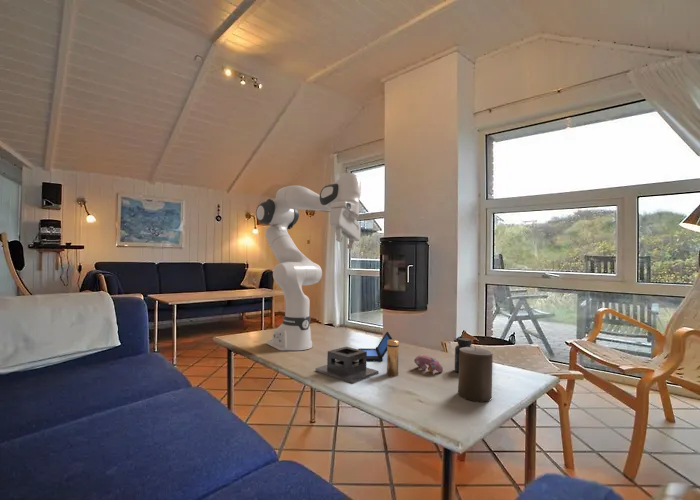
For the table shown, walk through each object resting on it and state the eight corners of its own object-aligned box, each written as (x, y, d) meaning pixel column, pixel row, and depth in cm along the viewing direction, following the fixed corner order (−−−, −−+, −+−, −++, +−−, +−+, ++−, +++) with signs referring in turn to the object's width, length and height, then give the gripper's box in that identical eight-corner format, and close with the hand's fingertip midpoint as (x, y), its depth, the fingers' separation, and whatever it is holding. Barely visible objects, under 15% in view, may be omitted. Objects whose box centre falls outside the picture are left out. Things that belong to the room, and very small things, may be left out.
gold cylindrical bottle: (384, 374, 123) (385, 340, 123) (390, 371, 126) (391, 338, 126) (394, 377, 120) (394, 342, 120) (400, 374, 123) (401, 340, 123)
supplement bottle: (475, 375, 124) (475, 341, 124) (455, 373, 125) (455, 340, 126) (472, 369, 131) (472, 337, 131) (453, 367, 132) (454, 336, 133)
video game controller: (415, 372, 131) (411, 357, 129) (421, 364, 134) (417, 349, 132) (439, 378, 124) (435, 363, 122) (444, 370, 127) (440, 355, 125)
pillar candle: (474, 404, 99) (475, 351, 99) (451, 391, 108) (452, 343, 108) (499, 399, 103) (500, 349, 103) (475, 388, 112) (476, 341, 112)
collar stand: (315, 371, 125) (315, 350, 125) (341, 362, 135) (342, 343, 135) (352, 383, 113) (353, 360, 113) (378, 373, 123) (378, 352, 124)
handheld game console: (357, 351, 154) (357, 330, 154) (387, 352, 154) (387, 331, 154) (359, 362, 138) (360, 338, 138) (393, 362, 138) (393, 339, 139)
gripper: (351, 222, 145) (348, 253, 141) (328, 201, 127) (324, 237, 123) (365, 220, 142) (363, 252, 138) (343, 199, 125) (340, 235, 121)
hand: (344, 245), depth 131 cm, fingers open, 8 cm apart
